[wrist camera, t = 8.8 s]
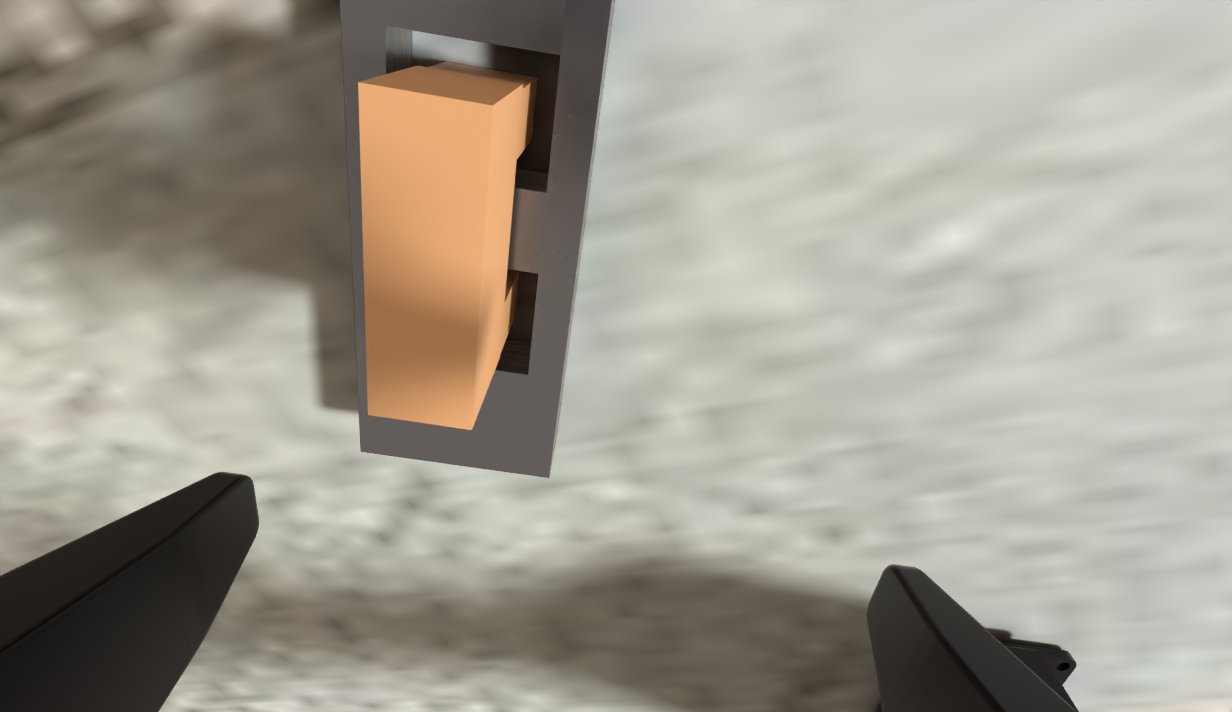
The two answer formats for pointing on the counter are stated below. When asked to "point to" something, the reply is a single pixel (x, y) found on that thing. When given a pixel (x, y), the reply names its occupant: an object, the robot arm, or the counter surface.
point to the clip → (439, 234)
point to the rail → (540, 227)
